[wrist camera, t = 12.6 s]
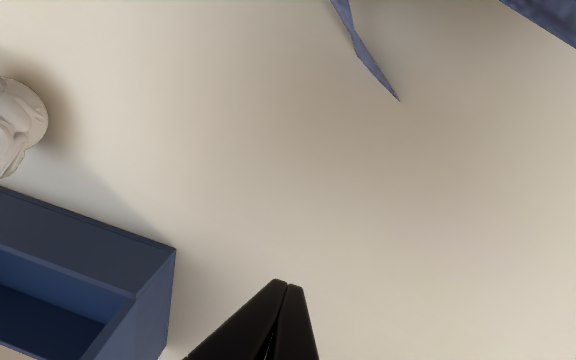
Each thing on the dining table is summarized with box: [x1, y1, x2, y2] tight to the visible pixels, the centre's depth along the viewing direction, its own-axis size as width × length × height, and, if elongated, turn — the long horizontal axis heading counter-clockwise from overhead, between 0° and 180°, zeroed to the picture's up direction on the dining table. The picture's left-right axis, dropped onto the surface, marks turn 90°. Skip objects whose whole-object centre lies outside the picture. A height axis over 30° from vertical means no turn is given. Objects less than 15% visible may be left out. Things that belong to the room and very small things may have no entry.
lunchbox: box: [0, 187, 176, 360], centre depth 27 cm, size 19×12×5 cm, turn 76°
